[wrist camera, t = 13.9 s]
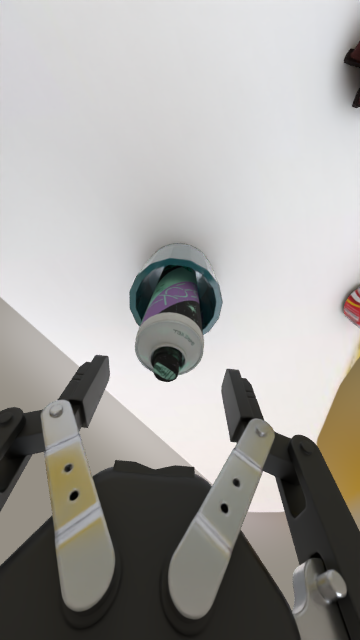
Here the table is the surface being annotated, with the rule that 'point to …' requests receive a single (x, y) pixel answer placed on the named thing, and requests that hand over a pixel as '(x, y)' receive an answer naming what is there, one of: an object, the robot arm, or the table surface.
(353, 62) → the mate gourd
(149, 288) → the crock
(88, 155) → the table surface
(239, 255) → the table surface
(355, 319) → the soda can
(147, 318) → the spray can
